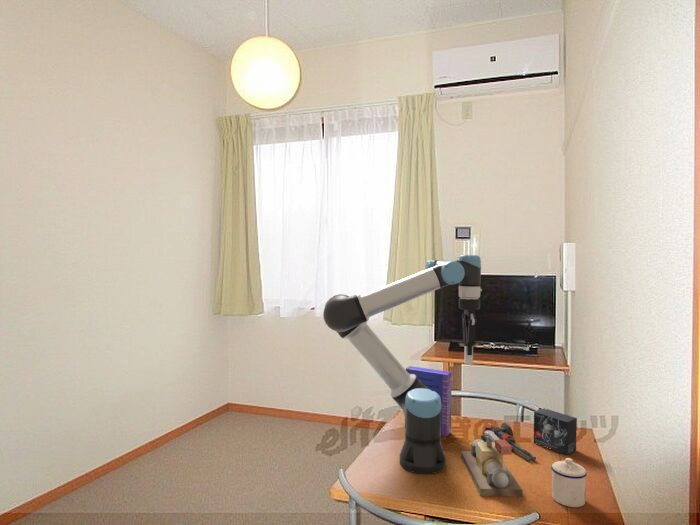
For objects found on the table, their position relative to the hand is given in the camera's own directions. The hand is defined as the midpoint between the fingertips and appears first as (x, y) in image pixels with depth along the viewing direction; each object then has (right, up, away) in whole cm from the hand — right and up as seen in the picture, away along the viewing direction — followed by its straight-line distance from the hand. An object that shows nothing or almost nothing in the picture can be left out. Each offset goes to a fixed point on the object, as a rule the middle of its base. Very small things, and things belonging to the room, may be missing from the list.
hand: (468, 363), depth 168 cm
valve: (+13, -31, +1) cm, 34 cm away
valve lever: (+2, -19, -26) cm, 33 cm away
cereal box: (-12, -30, +17) cm, 37 cm away
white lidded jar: (+19, -31, -34) cm, 50 cm away
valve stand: (+1, -31, -20) cm, 37 cm away
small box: (+32, -31, +2) cm, 44 cm away
